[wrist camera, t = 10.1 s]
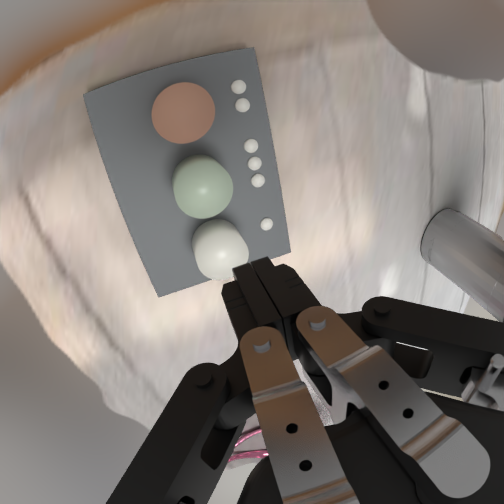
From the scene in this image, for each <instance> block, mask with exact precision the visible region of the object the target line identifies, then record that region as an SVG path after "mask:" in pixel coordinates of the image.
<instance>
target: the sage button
mask: <svg viewBox="0 0 504 504" xmlns="http://www.w3.org/2000/svg"><path fill="white" fill-rule="evenodd" d="M172 187H173V191H174V195H175V200H176V202H177V204H178V206H179V208H180V209H181V210H182V211H183V212H184V213H186V214H187V215H189V216H191V217H194V218H200V219H204V218H210V217H213V216H215V215H217V214H219V213H220V212H222V211H223V210H224V209H225V208H226V207H227V205H228V204H229V202H230V200H231V198H232V194H233V182H232V179H231V177H230V175H229V173H228V172H227V171H226V170H225V169H224V168H223V167H222V166H221V165H220V164H219V163H218V162H217V161H216V160H215V159H213V158H212V157H210V156H207V155H199V154H198V155H192V156H189V157H187V158H185V159H184V160H182V161H181V162H180V163H179V164H178V165H177V167H176V168H175V170H174V173H173V176H172Z"/></svg>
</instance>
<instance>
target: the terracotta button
mask: <svg viewBox="0 0 504 504" xmlns="http://www.w3.org/2000/svg"><path fill="white" fill-rule="evenodd" d="M151 115H152V122H153V125H154V127H155V129H156V131H157V132H158V133H159V135H160V136H162V137H163V138H164V139H166V140H168V141H170V142H173V143H178V144H185V143H190V142H193V141H196V140H198V139H199V138H201V137H202V136H204V135H205V134H206V133H207V132H208V130H209V129H210V127H211V126H212V124H213V121H214V117H215V105H214V102H213V99H212V97H211V96H210V94H209V93H208V92H207V91H206V90H205V89H204V88H202V87H201V86H199V85H197V84H194V83H189V82H182V83H176V84H173V85H171V86H169V87H167V88H166V89H164V90H163V91H162V92H161V93H160V94H159V95H158V96H157V98H156V99H155V101H154V104H153V107H152V114H151Z"/></svg>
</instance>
